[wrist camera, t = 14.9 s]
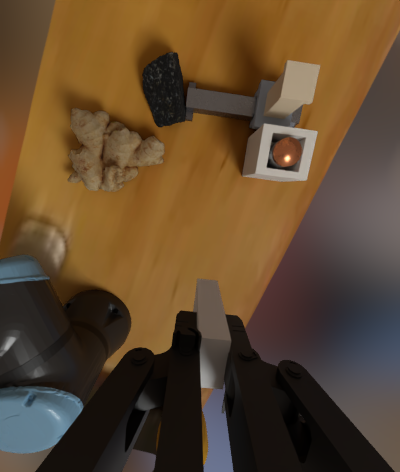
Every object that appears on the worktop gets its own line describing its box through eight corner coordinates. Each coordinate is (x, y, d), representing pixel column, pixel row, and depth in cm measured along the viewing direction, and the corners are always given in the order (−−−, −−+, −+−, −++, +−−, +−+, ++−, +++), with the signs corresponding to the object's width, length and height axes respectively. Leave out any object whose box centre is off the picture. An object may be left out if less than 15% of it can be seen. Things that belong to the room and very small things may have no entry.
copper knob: (260, 167, 38) (272, 164, 32) (264, 143, 37) (277, 135, 31) (282, 170, 38) (298, 168, 33) (287, 146, 37) (304, 139, 32)
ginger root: (49, 165, 41) (23, 151, 33) (105, 103, 42) (94, 75, 34) (118, 219, 44) (110, 218, 36) (169, 159, 45) (172, 146, 37)
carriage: (248, 131, 41) (271, 108, 29) (255, 90, 40) (282, 46, 27) (280, 136, 41) (316, 115, 29) (288, 95, 40) (330, 53, 27)
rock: (154, 131, 41) (148, 122, 36) (139, 70, 39) (130, 50, 33) (191, 122, 41) (191, 112, 35) (178, 60, 39) (175, 39, 33)
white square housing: (241, 176, 43) (255, 173, 33) (248, 135, 41) (264, 120, 32) (281, 181, 43) (306, 180, 34) (289, 141, 42) (318, 128, 32)
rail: (185, 120, 41) (185, 116, 38) (189, 84, 39) (189, 77, 37) (291, 135, 42) (297, 132, 39) (298, 100, 40) (304, 95, 38)
